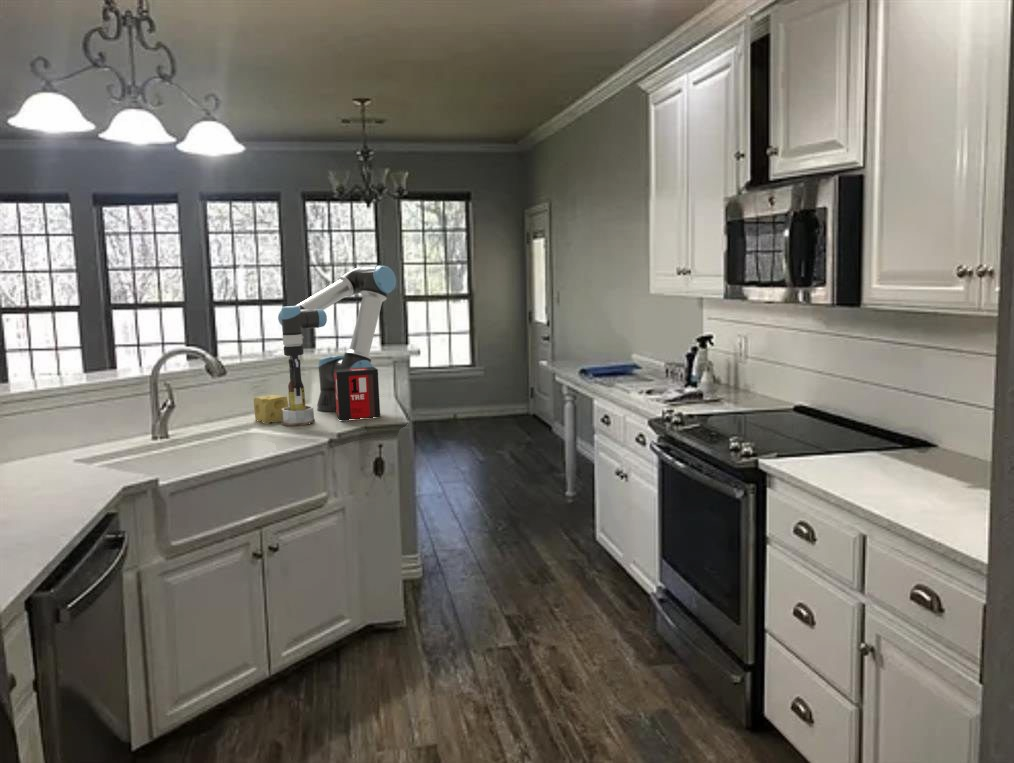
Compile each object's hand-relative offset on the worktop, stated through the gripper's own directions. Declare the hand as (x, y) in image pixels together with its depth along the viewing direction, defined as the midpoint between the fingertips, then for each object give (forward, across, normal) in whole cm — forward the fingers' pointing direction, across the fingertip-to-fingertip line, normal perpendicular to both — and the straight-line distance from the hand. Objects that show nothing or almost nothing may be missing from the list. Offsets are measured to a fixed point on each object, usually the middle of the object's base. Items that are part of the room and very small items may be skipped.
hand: (297, 402), depth 344 cm
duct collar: (+8, 0, 0) cm, 8 cm away
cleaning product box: (+9, -2, -24) cm, 26 cm away
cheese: (+9, +12, +9) cm, 18 cm away
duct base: (+8, 0, 0) cm, 8 cm away
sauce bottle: (+6, 0, 0) cm, 6 cm away
